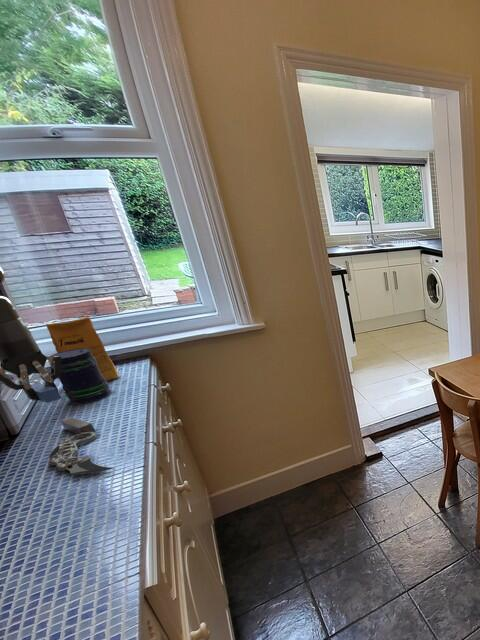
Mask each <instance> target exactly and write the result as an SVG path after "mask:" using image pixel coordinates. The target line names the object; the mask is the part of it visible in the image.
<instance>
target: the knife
mask: <svg viewBox="0 0 480 640" xmlns="http://www.w3.org/2000/svg"><path fill="white" fill-rule="evenodd" d="M96 438H97V435H96V433H95V432H84V433H79V434H77V433H74V434H73V435H72V436H70V437H68V438H66V439H64V440H62V441H60V442H59V443H57V446H56V447H55V448H53V449H52V451H51V452H50V454H49V455H48V459H47V461H48V463H49V465H53V466H56V469H57V470H58V471H63V472H65V471H69V472H70V473H69V474H70V475H85V474H86V475H87V474H95V473H101V472H105V471H108V470H109V471H110V470H112V469H114V467H113V466H112V467H110V466H103V465H100V464H97V463H95V462H93V460H92V459H91V457H90V455H88V454H85V455H77V454H78V453H79V451H80V449H79V448H78V446H80V445H83V444H87V443H90V442H92V441H93V440H95V439H96Z"/></svg>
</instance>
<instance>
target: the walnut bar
mask: <svg viewBox="0 0 480 640" xmlns="http://www.w3.org/2000/svg"><path fill="white" fill-rule="evenodd" d="M60 423H61V425H62V426H63V428H64V430H65V431H68V432H71V433H74V434H79V433H84V432H94V433H95V432H96V430H95V428H94V426H93V425H92V423H91V422H89V421H84V420H81V419H78V418H75V417H70V418H67V419H64V420H61V421H60Z"/></svg>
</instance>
